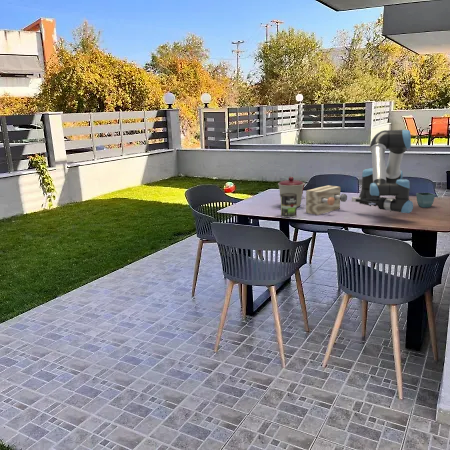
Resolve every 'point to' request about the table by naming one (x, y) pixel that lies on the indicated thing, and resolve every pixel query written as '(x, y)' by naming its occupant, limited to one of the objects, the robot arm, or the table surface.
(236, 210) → the table surface
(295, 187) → the canister
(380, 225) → the table surface
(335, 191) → the stand
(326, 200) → the terracotta plunger
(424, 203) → the flower pot
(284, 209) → the coffee can
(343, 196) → the grey plunger
